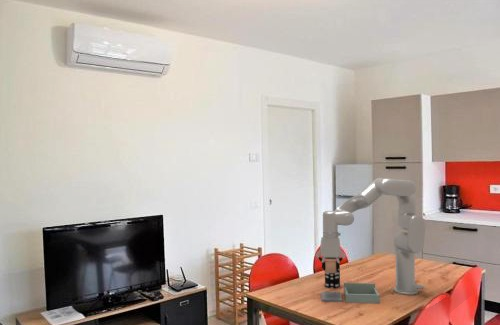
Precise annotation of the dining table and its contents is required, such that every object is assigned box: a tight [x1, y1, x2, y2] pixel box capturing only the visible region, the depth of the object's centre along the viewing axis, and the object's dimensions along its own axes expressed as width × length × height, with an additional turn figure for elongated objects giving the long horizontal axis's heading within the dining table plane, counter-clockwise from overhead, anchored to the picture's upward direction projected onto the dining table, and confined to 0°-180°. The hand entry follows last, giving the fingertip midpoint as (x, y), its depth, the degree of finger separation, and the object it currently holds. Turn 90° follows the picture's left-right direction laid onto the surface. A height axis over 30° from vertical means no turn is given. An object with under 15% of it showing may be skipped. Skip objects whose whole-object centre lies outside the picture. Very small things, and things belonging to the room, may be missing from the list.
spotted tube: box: [324, 256, 341, 290], centre depth 230 cm, size 8×8×20 cm
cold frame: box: [343, 282, 381, 304], centre depth 209 cm, size 16×13×6 cm
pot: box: [324, 258, 337, 273], centre depth 211 cm, size 7×7×7 cm
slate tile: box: [320, 291, 343, 303], centre depth 211 cm, size 10×12×1 cm
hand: (330, 269), depth 211 cm, fingers closed on pot, 6 cm apart
